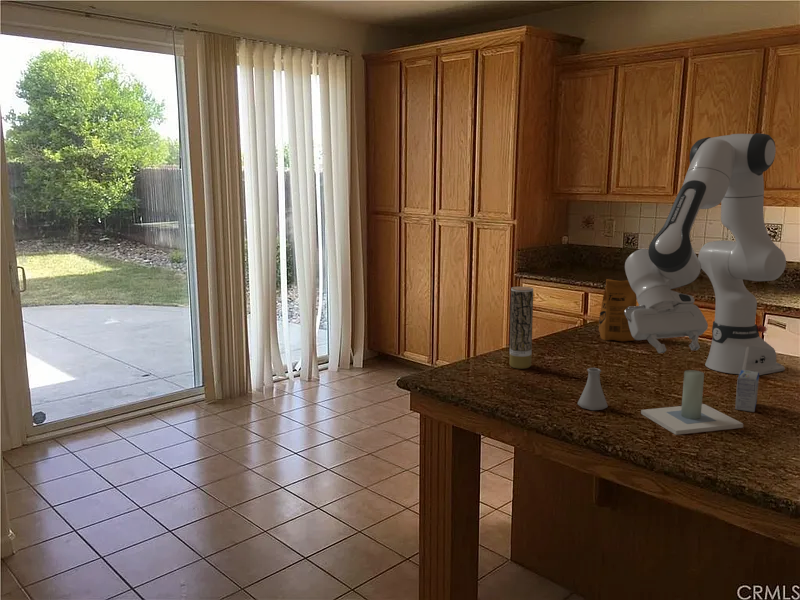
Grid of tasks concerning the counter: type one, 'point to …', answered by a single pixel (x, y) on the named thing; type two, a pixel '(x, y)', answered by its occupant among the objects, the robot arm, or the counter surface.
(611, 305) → the coffee package
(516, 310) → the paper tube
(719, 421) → the card
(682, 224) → the robot arm
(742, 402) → the medicine box
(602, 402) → the flask
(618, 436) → the counter surface
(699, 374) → the pale green cylinder
